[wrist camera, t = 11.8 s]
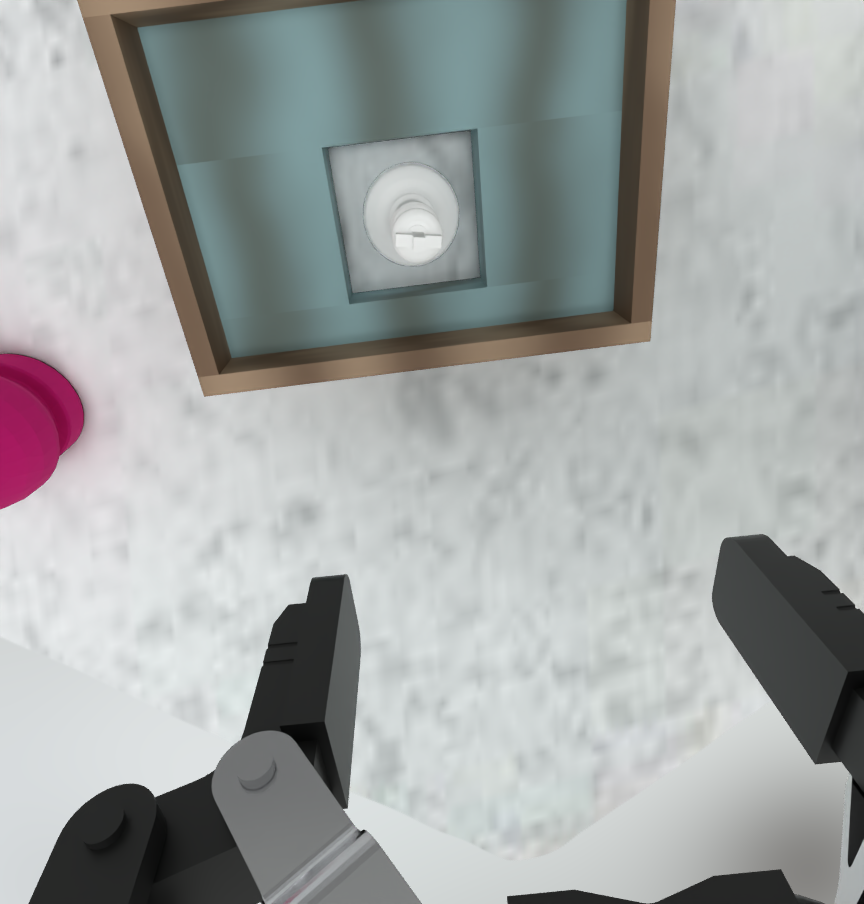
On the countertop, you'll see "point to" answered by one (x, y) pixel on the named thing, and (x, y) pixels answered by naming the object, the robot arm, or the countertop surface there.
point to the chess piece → (411, 214)
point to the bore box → (380, 119)
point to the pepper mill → (33, 424)
